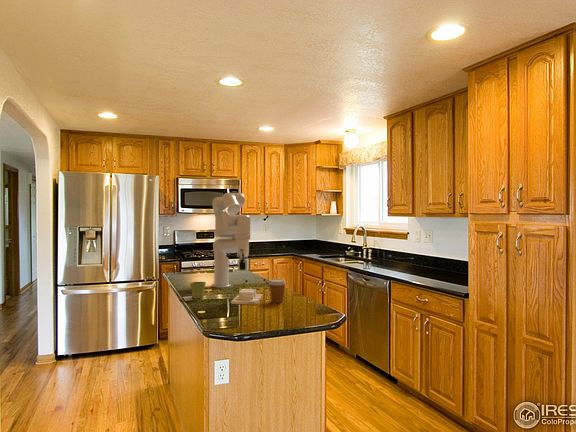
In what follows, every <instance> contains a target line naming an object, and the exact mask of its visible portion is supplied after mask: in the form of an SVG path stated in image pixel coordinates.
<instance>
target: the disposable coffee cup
mask: <svg viewBox="0 0 576 432" xmlns="http://www.w3.org/2000/svg"><path fill="white" fill-rule="evenodd" d="M286 283H287V282H286V280H285V279H282V278H273V279H269V282H268V284H269V291H270V292H269V293H270V299H271V300H270V301H271V303H274V304H275V303H276V304H280V303H283V301H284V294H285V293H284V292H285V288H286V287H285V286H286Z"/></svg>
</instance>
